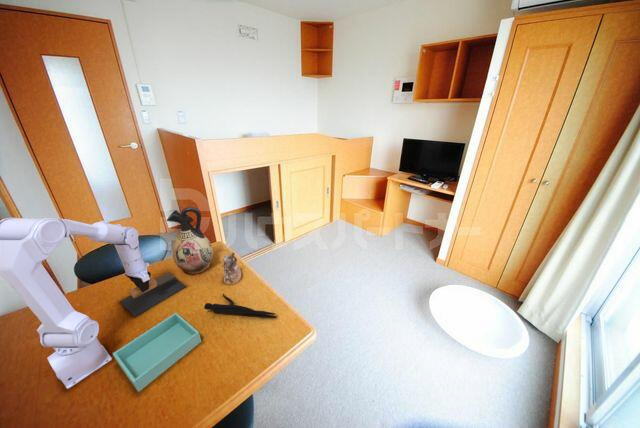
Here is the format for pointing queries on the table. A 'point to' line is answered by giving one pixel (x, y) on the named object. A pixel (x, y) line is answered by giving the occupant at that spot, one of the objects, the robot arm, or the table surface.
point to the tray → (151, 297)
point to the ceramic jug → (191, 243)
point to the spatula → (153, 284)
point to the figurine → (231, 269)
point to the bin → (156, 350)
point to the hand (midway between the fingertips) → (143, 288)
